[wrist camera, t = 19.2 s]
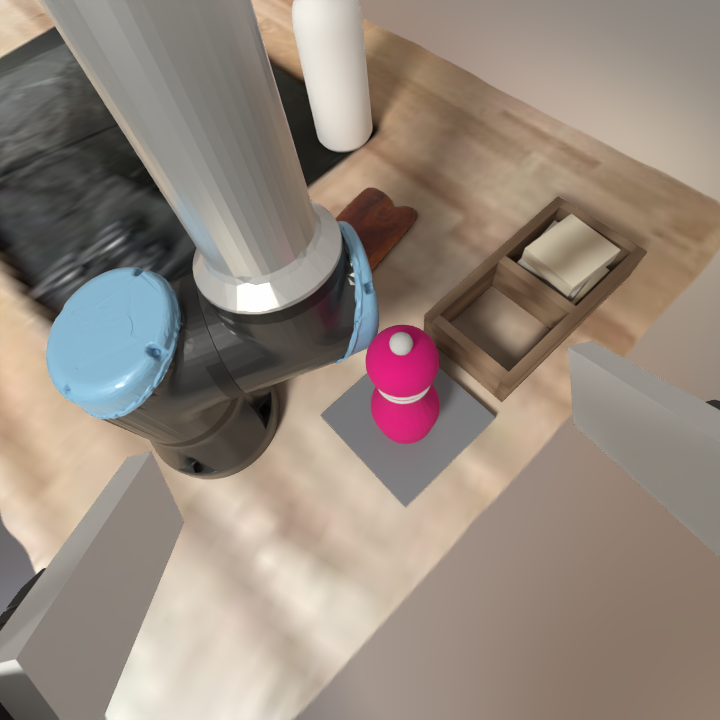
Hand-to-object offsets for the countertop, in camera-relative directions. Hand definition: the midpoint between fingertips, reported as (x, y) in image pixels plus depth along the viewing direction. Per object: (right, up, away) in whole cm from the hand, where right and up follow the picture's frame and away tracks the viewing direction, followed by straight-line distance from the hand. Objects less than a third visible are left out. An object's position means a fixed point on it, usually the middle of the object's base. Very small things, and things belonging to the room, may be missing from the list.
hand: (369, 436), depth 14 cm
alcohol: (-3, +38, +59) cm, 70 cm away
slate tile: (+5, -4, +38) cm, 39 cm away
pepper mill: (+5, -4, +38) cm, 38 cm away
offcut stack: (+25, +13, +44) cm, 52 cm away
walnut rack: (+20, +9, +43) cm, 48 cm away
